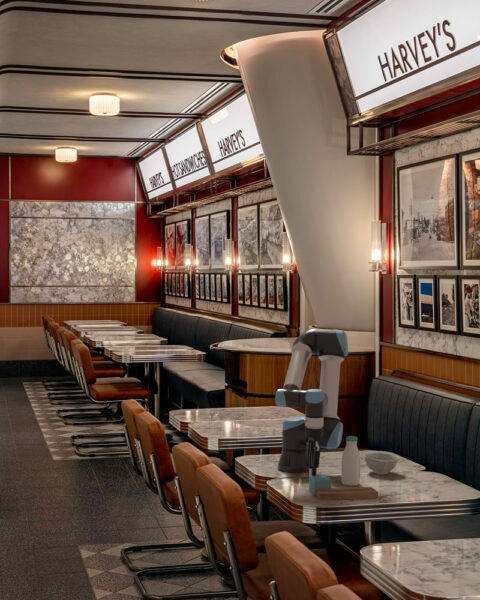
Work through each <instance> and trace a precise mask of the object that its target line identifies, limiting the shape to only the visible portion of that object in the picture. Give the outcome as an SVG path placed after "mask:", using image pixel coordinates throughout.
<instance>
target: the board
mask: <svg viewBox="0 0 480 600" xmlns="http://www.w3.org/2000/svg"><path fill="white" fill-rule="evenodd" d="M313 496H315V497H316V498H317V499H318V500H319V501H325V500H326V501H328V500H329V501H331V500H332V501H333V500H355V499H356V500H357V499H358V500H360V499H359V498H364V499H379V491H378V490H377V489H375V488H374V487H372V486H358V487H355V486H353V487H352V486H351V487H331V488H318V489H314V494H313Z"/></svg>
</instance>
